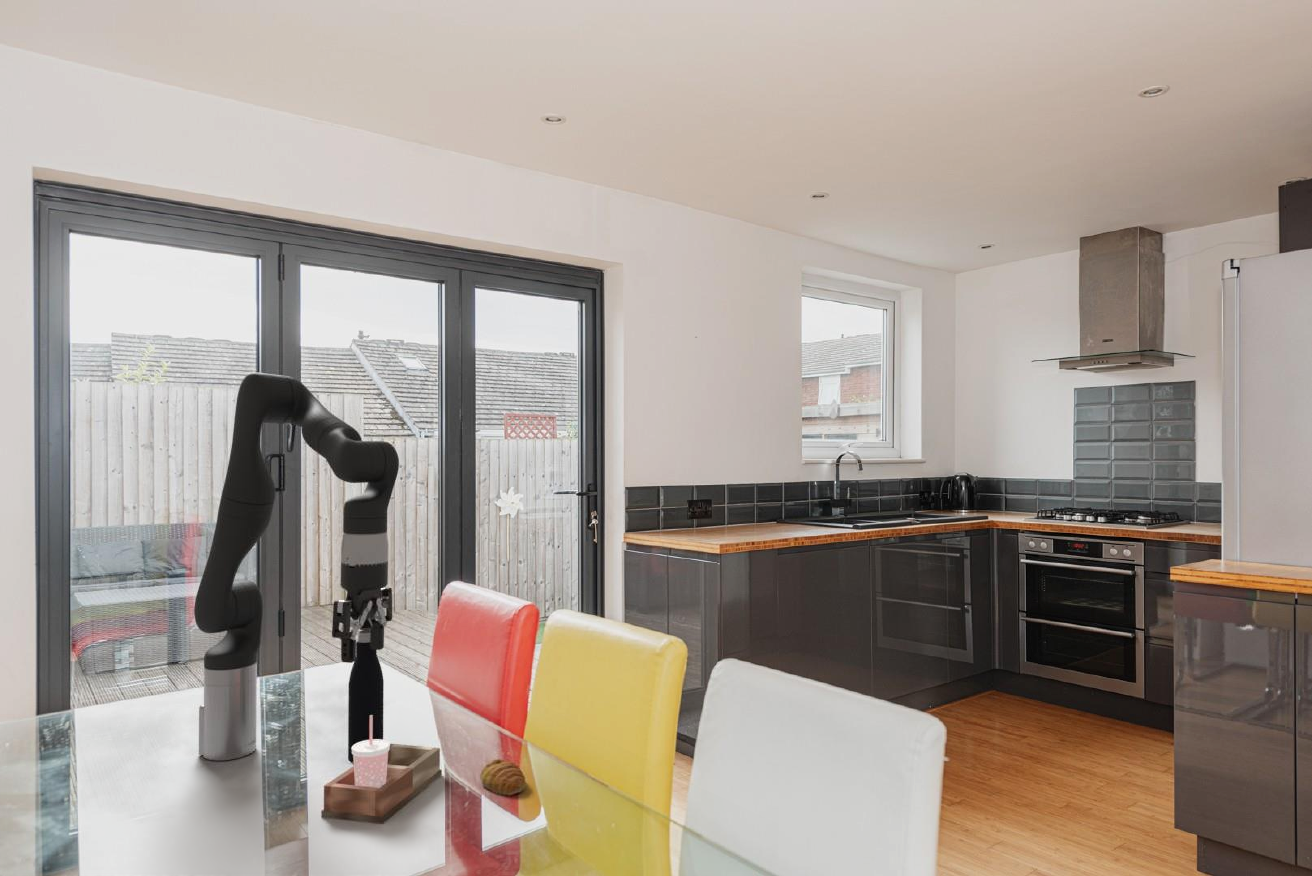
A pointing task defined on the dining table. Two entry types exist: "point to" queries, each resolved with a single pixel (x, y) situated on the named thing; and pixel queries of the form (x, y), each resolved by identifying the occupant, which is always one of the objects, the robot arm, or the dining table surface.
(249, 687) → the robot arm
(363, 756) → the beverage cup
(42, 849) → the dining table surface
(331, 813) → the cup holder
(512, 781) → the pastry
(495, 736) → the dining table surface
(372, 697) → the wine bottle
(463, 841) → the dining table surface
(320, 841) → the dining table surface
